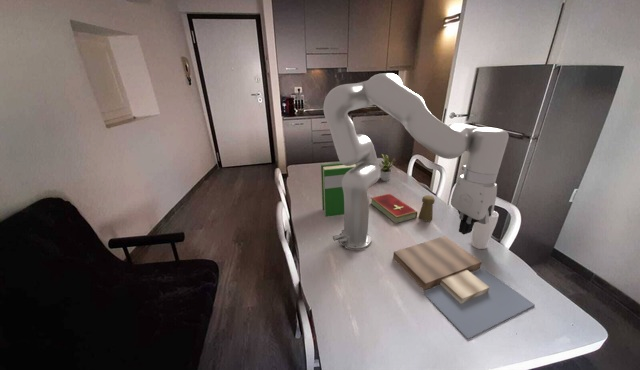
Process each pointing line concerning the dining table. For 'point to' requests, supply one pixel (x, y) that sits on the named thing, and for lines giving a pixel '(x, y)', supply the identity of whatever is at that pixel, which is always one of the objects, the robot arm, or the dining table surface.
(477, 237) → the drinking glass
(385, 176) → the house plant
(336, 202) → the hardback book
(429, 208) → the cork
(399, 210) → the hardcover book
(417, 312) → the dining table surface
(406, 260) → the walnut board
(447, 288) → the birch tile
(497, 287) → the rubber mat
